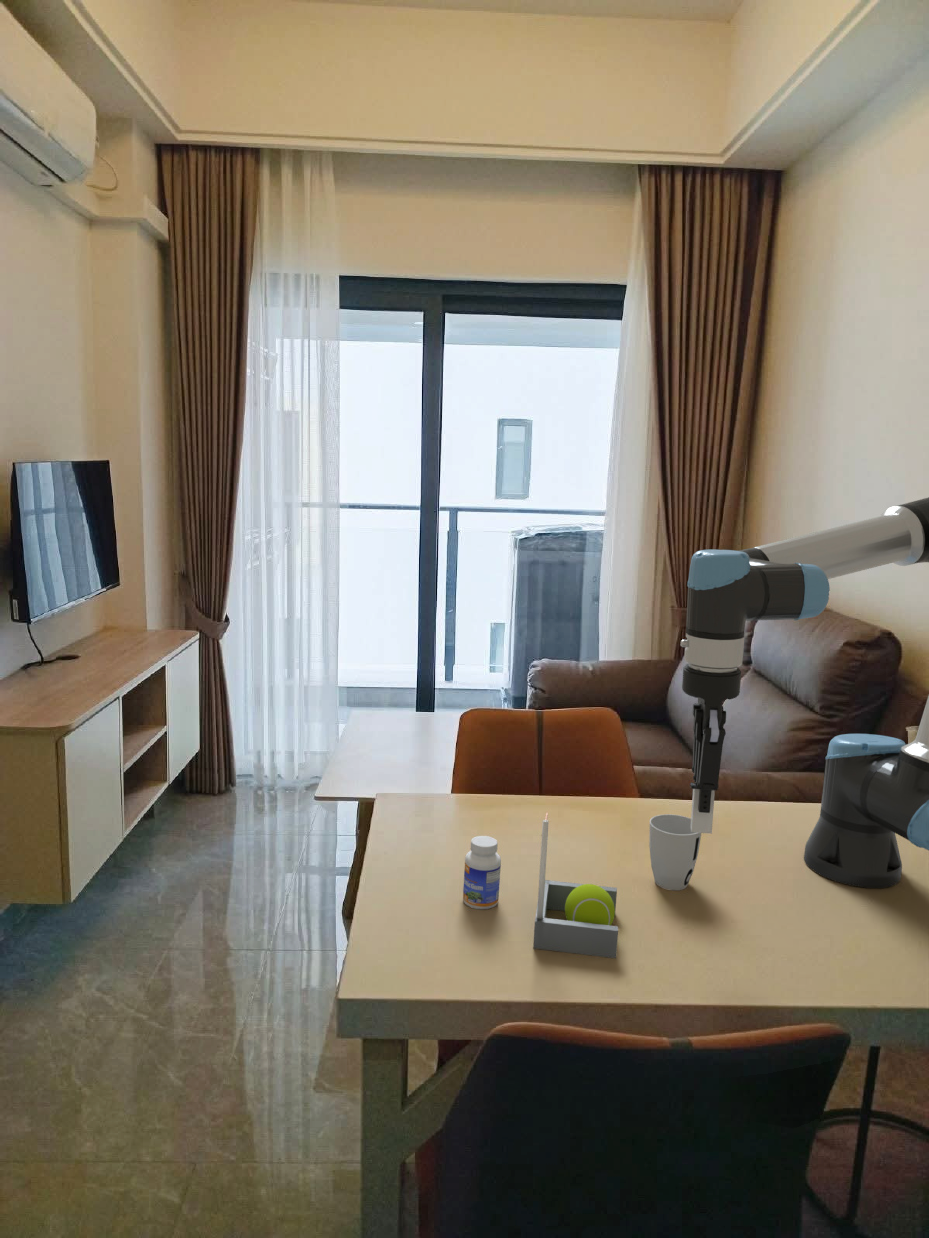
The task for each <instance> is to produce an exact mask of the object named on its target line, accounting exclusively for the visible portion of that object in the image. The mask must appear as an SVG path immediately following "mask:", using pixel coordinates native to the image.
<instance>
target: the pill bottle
mask: <svg viewBox="0 0 929 1238" xmlns="http://www.w3.org/2000/svg"><path fill="white" fill-rule="evenodd" d="M469 849H470V850H469V851H468V852H467V853H466V855H465V857H464V872H463V874H464V875H463V888H462V890H463V891H462V892H463V893H462V900H463V902H464V904H465V905H466V906H467V907H469V908H472V909H475V910H489V909H492V908H494V907H496V906H497V905H498V903H499V897H500V880H501V867H502V865H501V864H502V860H501V856H500V855H499V853H498V840H497V839H496V838H494V837H492V836H488V835H477V836H474V837H473V838H471V840H470V848H469Z"/></svg>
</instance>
